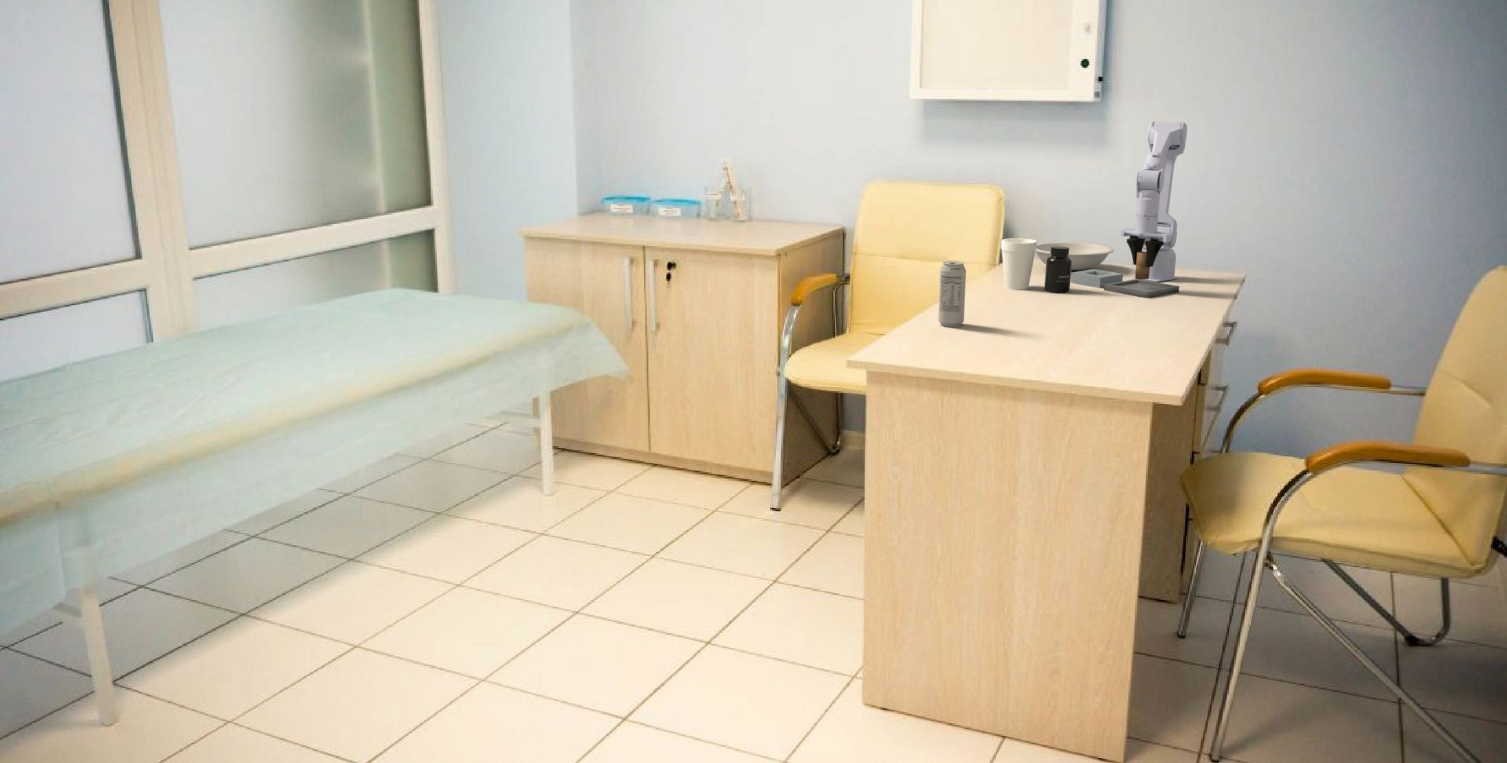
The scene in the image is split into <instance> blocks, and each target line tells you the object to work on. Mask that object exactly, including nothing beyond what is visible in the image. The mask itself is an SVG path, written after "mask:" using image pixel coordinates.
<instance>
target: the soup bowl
mask: <svg viewBox="0 0 1507 763" xmlns="http://www.w3.org/2000/svg"><path fill="white" fill-rule="evenodd" d="M1053 246H1063V247H1068V248H1069V255H1068V257H1069V258H1070V259H1071V260H1072V268H1071V272H1074V271H1075V272H1076V271H1085V270H1091V269H1095V268H1097V267H1098V266H1100V265H1101V264H1102V263H1103V262H1104V261H1105V260H1106V258H1107V257H1108V255H1110V254H1112V253H1114V251H1115V249H1114V248H1113V247H1110V246H1108V245H1105V244H1104V245H1103V244H1098V243H1090V242H1077V241H1055V242H1054V241H1052V242H1051V241H1050V242H1040V243H1037V246H1036V251H1035V254H1036V255H1037V257H1038V259H1039V260H1040V261H1041V262H1042V263H1044V264H1045V265H1046V260H1047V258H1048V257H1050V256H1051V254H1050V252H1051V247H1053Z"/></svg>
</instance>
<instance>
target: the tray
mask: <svg viewBox="0 0 1507 763" xmlns="http://www.w3.org/2000/svg"><path fill="white" fill-rule="evenodd" d="M1103 291H1107V292H1112V293H1118V294H1123V295H1128V296H1132V297H1133V296H1134V297H1139V298H1145V299H1151V298H1154V297H1159V296H1164V295H1171V294H1176V293H1180V286H1179V285H1176V284H1175V285H1174V284H1169V283H1163V282H1154V281H1148V280H1142V279H1136V278H1134V279H1129V280H1123V281H1121V282H1115V283H1110V284H1104V287H1103Z"/></svg>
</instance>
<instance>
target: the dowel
mask: <svg viewBox="0 0 1507 763" xmlns="http://www.w3.org/2000/svg"><path fill="white" fill-rule="evenodd" d="M1146 257H1147V252H1144V251H1143V250H1142V251H1141V252H1137V260H1136V265H1135V276H1134V277H1135V278H1134V279H1140V280H1142V279H1149V272H1150V267H1146Z"/></svg>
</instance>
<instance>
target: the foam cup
mask: <svg viewBox="0 0 1507 763" xmlns="http://www.w3.org/2000/svg"><path fill="white" fill-rule="evenodd" d="M1000 244H1001V248H1000V250H1001V256H1002V267H1003V268H1002V269H1003V279H1004V289H1007V290H1008V289H1009V290H1014V291H1015V290H1017V291H1020V290H1021V291H1023V290H1028V289H1029V287H1030V283H1031V282H1030V281H1031V276H1032V270H1033V266H1034V265H1033V264H1034V259H1035V254H1036V246H1037V244H1038V243H1037V240H1036V239H1032V238H1020V237H1019V238H1018V237H1017V238H1014V237H1013V238H1012V237H1010V238H1005V239H1002V240H1001V243H1000Z"/></svg>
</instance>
